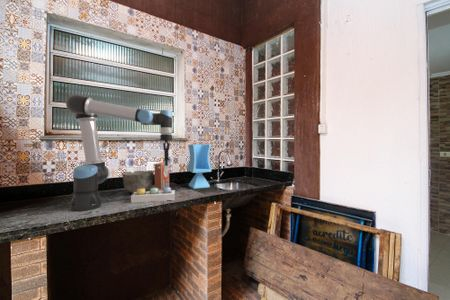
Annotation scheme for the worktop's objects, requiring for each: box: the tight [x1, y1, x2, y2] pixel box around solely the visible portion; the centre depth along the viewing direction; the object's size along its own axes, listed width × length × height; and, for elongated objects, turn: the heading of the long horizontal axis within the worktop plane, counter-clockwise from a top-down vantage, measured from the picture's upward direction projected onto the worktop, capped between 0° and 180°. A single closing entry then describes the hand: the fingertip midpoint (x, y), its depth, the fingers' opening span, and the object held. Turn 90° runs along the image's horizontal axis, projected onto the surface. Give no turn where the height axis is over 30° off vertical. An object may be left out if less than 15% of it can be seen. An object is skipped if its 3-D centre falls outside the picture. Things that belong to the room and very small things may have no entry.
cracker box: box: [154, 161, 170, 191], centre depth 166 cm, size 21×7×15 cm
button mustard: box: [137, 188, 146, 195], centre depth 143 cm, size 5×5×3 cm
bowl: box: [121, 170, 155, 194], centre depth 164 cm, size 22×22×15 cm
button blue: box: [163, 186, 172, 194], centre depth 147 cm, size 5×5×3 cm
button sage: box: [149, 187, 158, 194], centre depth 145 cm, size 5×5×3 cm
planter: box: [186, 144, 212, 190], centre depth 186 cm, size 16×16×35 cm
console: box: [130, 189, 176, 204], centre depth 145 cm, size 26×12×4 cm, turn 103°
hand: (166, 170), depth 146 cm, fingers closed
